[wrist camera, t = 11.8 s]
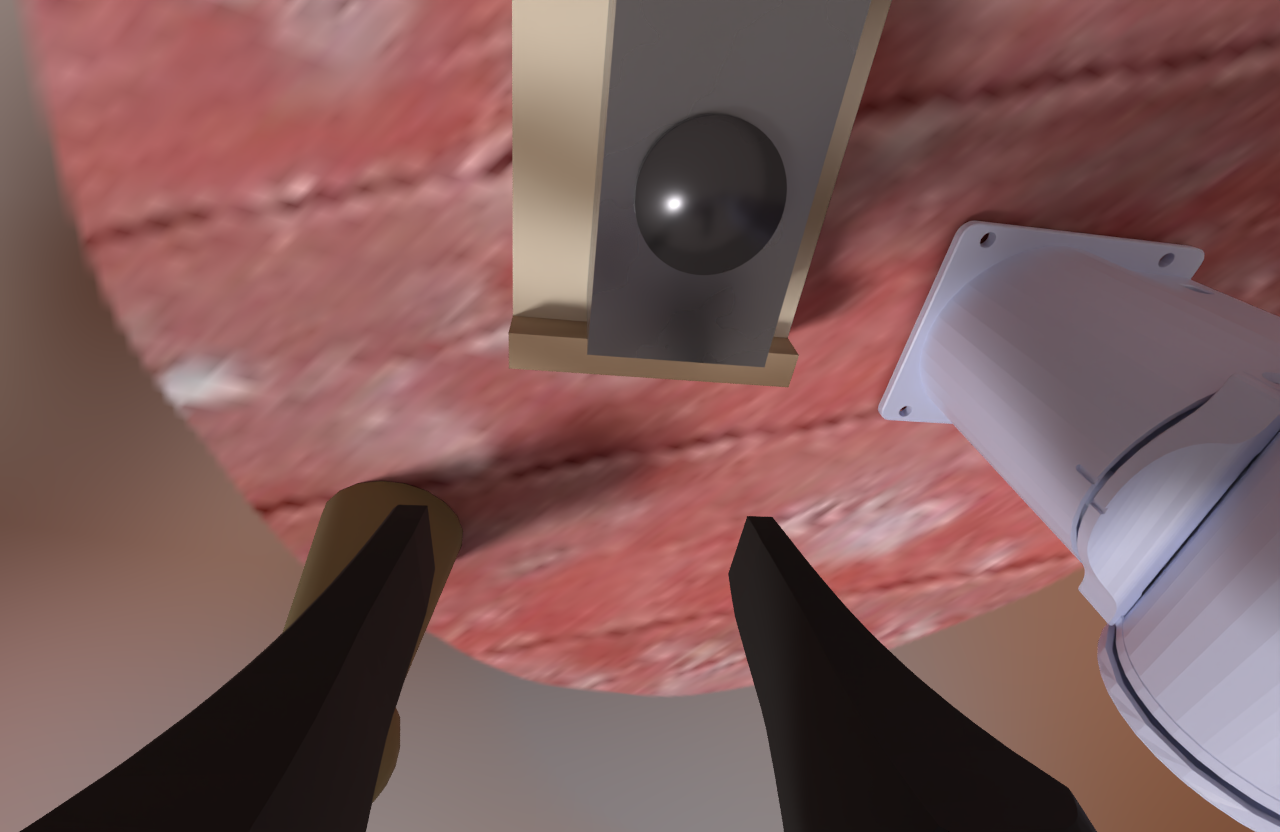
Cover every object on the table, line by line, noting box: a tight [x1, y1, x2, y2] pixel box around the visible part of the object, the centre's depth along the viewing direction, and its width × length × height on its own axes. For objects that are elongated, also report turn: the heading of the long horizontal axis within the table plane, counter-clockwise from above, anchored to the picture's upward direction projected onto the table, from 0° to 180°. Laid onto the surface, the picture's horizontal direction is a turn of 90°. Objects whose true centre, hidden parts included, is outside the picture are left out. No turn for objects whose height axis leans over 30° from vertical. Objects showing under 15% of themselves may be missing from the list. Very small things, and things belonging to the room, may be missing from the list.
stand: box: [509, 0, 892, 387], centre depth 15 cm, size 12×9×3 cm
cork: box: [283, 481, 463, 803], centre depth 20 cm, size 6×6×11 cm
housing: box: [587, 0, 871, 367], centre depth 13 cm, size 8×5×4 cm, turn 173°
